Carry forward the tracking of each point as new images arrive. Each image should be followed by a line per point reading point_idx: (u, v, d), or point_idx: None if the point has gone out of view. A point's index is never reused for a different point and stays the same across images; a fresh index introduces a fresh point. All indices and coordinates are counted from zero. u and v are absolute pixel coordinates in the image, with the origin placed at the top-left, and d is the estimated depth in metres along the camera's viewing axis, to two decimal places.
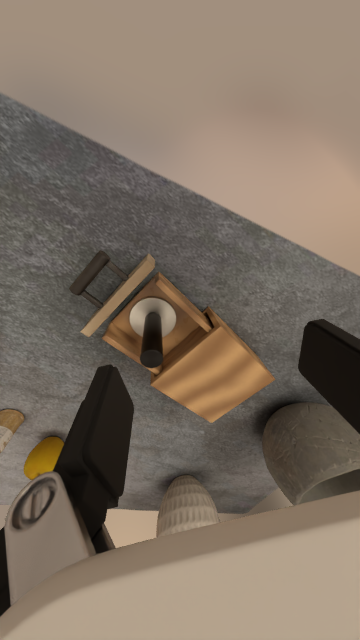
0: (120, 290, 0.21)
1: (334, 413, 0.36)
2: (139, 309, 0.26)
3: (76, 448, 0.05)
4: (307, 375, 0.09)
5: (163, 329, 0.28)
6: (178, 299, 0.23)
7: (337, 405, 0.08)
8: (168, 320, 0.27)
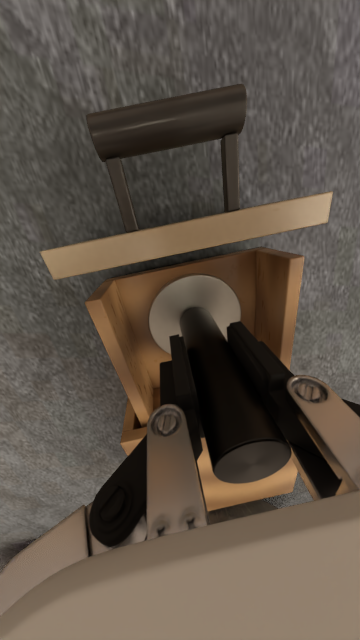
0: (223, 218, 0.08)
1: None
2: (188, 289, 0.12)
3: (185, 387, 0.06)
4: None
5: None
6: (294, 317, 0.11)
7: None
8: None
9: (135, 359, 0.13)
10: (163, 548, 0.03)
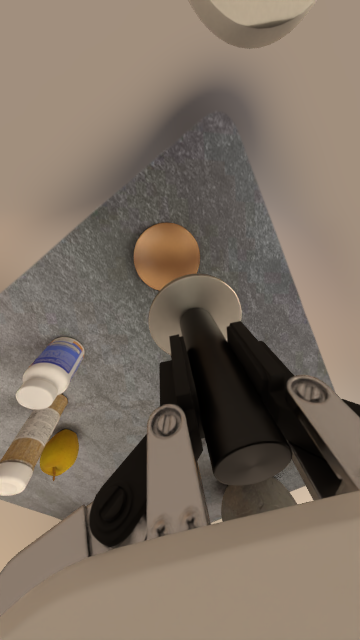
0: None
1: (286, 490, 0.50)
2: (188, 290, 0.12)
3: (185, 387, 0.06)
4: None
5: None
6: None
7: None
8: None
9: None
10: (163, 548, 0.03)
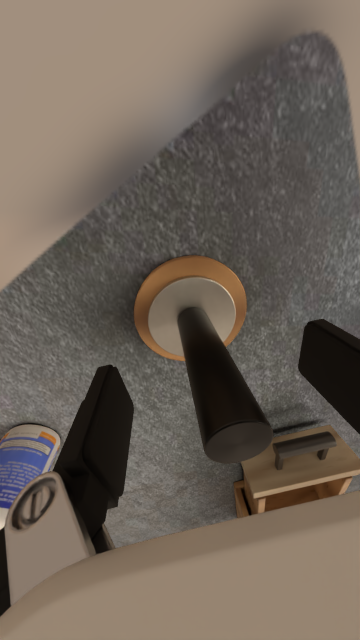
0: (324, 478, 0.20)
1: None
2: (185, 291, 0.13)
3: (76, 448, 0.05)
4: (307, 375, 0.09)
5: None
6: (344, 491, 0.22)
7: (337, 405, 0.08)
8: None
9: None
10: (163, 548, 0.03)
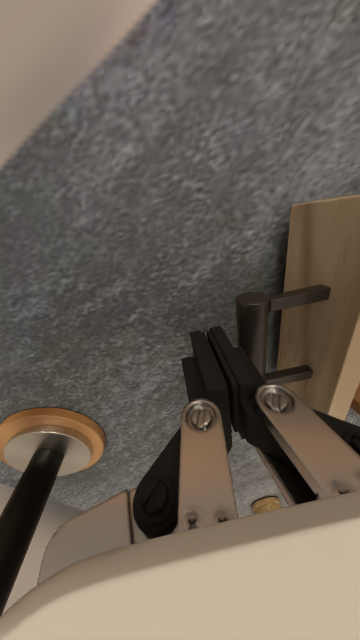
0: (359, 328, 0.07)
1: None
2: (21, 464, 0.16)
3: (215, 382, 0.06)
4: None
5: (75, 451, 0.16)
6: None
7: None
8: (60, 443, 0.15)
9: None
10: (163, 548, 0.03)
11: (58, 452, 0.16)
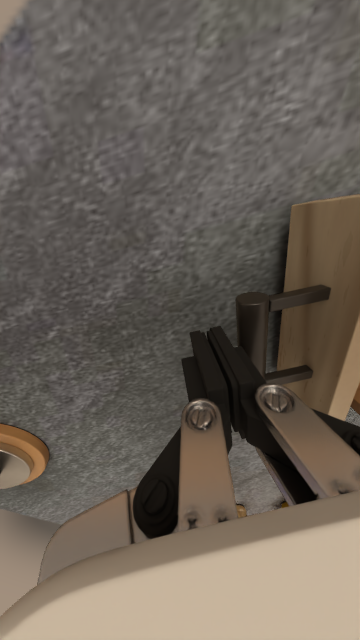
0: (359, 328, 0.07)
1: None
2: None
3: (215, 382, 0.06)
4: None
5: (12, 465, 0.16)
6: None
7: None
8: None
9: None
10: (163, 548, 0.03)
11: None
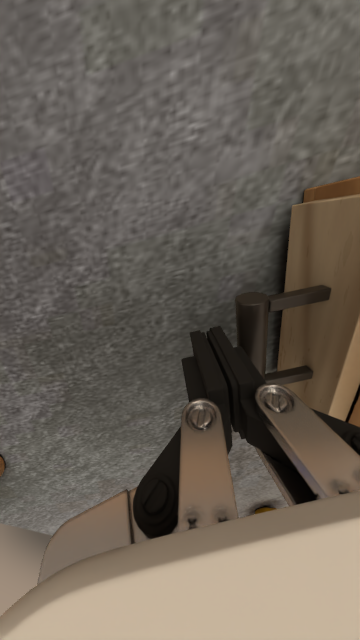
0: (359, 328, 0.07)
1: None
2: None
3: (216, 382, 0.06)
4: None
5: None
6: None
7: None
8: None
9: None
10: (163, 547, 0.03)
11: None
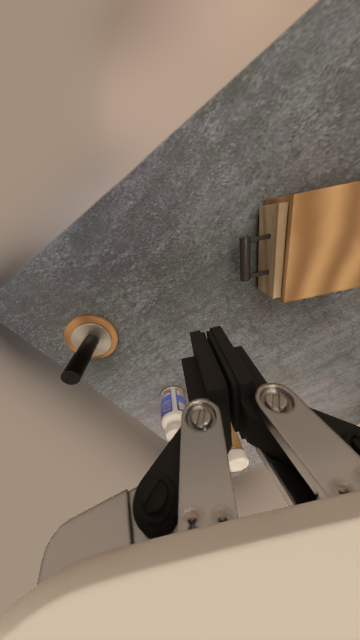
0: (277, 244, 0.24)
1: None
2: (77, 344, 0.33)
3: (215, 382, 0.06)
4: None
5: (104, 338, 0.33)
6: None
7: None
8: (98, 331, 0.32)
9: None
10: (163, 548, 0.03)
11: (96, 337, 0.32)
